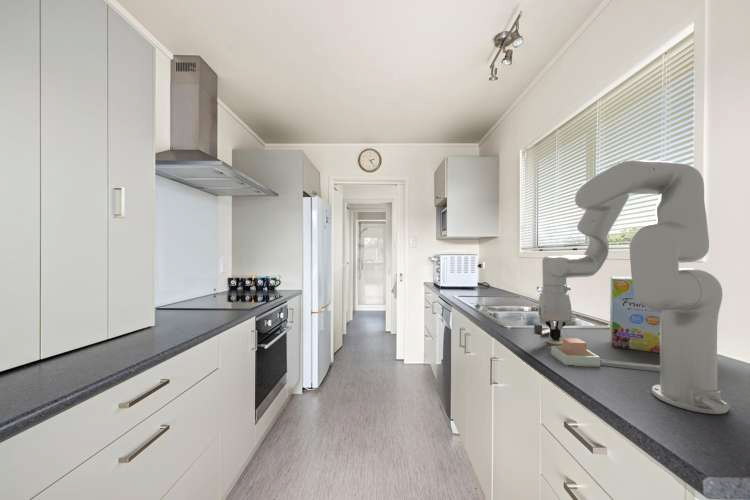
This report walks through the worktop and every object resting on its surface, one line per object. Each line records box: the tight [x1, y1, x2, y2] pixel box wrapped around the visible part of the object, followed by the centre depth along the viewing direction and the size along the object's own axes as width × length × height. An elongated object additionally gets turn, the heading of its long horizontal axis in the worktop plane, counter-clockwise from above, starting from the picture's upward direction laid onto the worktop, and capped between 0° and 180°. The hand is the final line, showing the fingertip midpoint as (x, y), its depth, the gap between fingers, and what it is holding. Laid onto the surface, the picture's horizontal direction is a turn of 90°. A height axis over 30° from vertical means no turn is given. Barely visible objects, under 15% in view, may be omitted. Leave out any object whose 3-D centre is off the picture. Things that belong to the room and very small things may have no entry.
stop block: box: [561, 337, 588, 356], centre depth 98 cm, size 5×5×6 cm
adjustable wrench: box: [600, 358, 660, 373], centre depth 92 cm, size 25×6×2 cm, turn 64°
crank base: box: [545, 340, 562, 346], centre depth 117 cm, size 6×6×1 cm
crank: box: [532, 324, 563, 344], centre depth 114 cm, size 16×4×7 cm, turn 124°
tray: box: [550, 345, 601, 368], centre depth 98 cm, size 10×10×3 cm
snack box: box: [609, 275, 663, 354], centre depth 109 cm, size 22×9×26 cm, turn 57°
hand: (555, 339), depth 111 cm, fingers closed
